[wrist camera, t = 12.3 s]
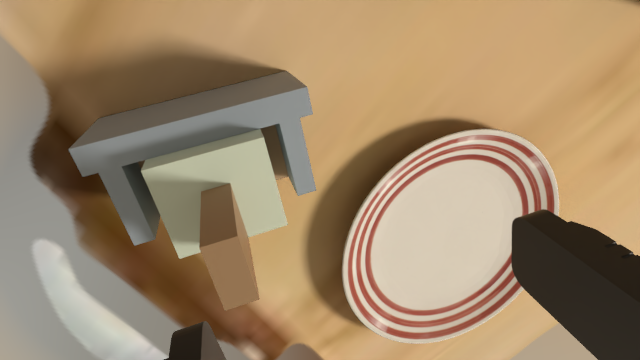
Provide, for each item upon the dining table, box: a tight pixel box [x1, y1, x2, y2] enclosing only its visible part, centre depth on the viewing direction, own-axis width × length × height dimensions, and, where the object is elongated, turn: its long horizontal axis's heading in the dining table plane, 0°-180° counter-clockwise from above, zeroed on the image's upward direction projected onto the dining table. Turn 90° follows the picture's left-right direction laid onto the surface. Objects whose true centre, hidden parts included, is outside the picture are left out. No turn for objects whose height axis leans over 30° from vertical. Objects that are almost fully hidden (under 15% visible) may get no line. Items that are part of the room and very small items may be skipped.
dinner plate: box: [342, 129, 559, 344], centre depth 46 cm, size 28×27×3 cm
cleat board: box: [68, 71, 316, 246], centre depth 32 cm, size 8×16×8 cm, turn 102°
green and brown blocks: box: [141, 129, 288, 311], centre depth 27 cm, size 7×8×13 cm
